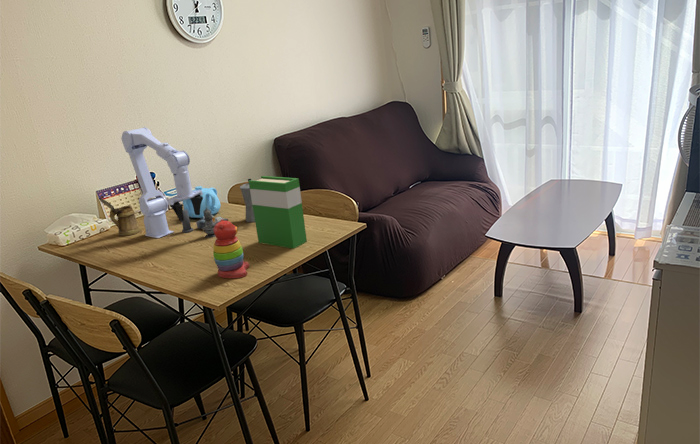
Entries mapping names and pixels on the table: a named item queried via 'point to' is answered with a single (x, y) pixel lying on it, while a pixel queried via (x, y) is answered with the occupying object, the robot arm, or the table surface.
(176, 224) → the table surface
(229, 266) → the stacking bear
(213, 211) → the decorative pot
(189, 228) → the post
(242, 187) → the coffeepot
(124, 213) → the wooden mug
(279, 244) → the hardback book
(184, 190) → the robot arm
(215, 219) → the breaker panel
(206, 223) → the grey tall lumpy piece
